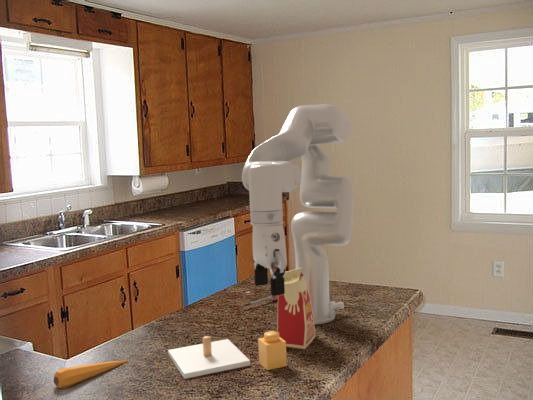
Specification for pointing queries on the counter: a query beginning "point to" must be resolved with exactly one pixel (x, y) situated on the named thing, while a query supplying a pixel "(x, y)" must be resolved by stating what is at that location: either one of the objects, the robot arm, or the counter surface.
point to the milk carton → (295, 311)
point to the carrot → (82, 373)
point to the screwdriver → (263, 300)
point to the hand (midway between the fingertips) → (269, 289)
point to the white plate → (207, 358)
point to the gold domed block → (272, 351)
